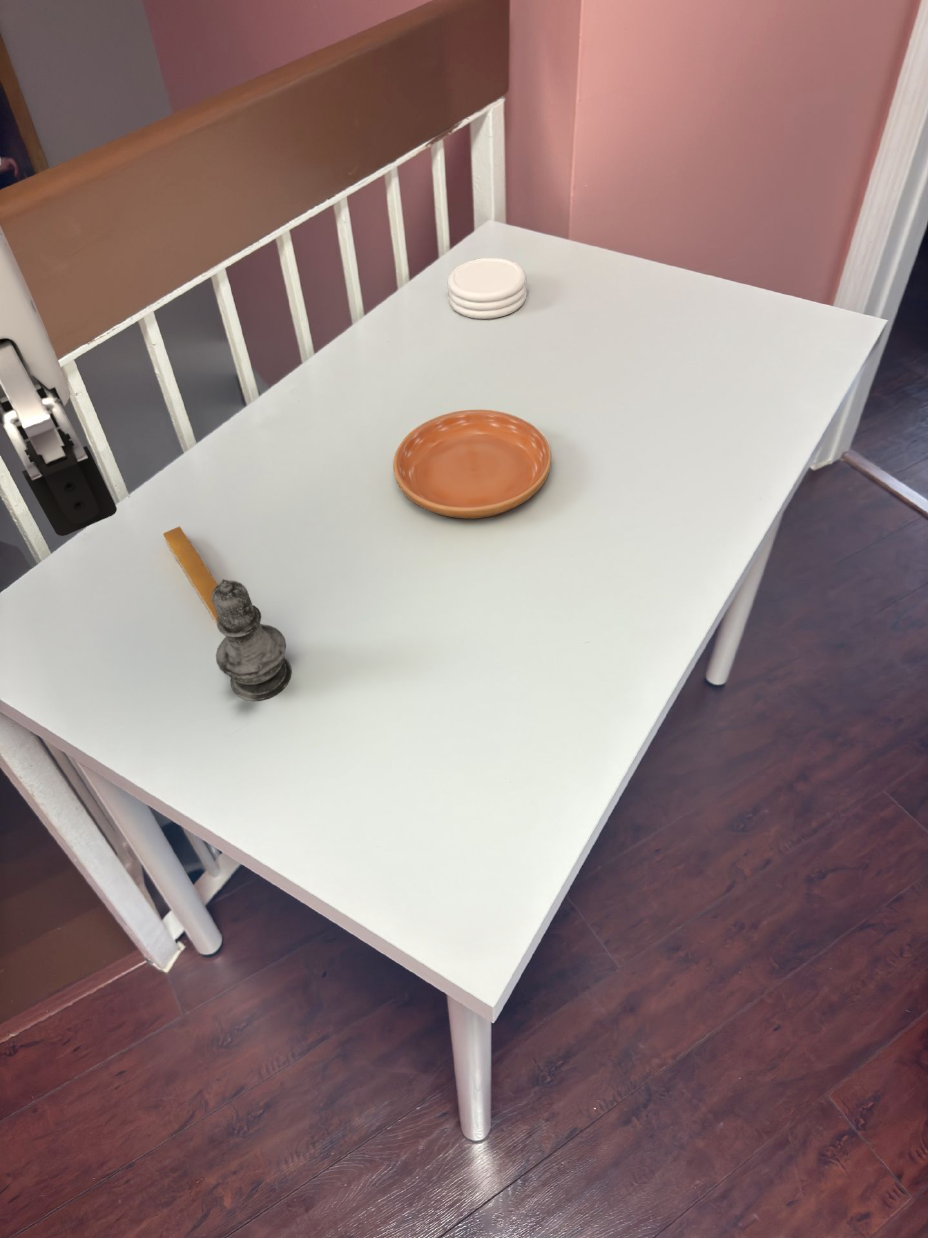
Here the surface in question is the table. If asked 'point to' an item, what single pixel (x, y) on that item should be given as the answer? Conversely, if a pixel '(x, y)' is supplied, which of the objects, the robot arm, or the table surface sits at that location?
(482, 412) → the saucer
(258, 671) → the salt shaker
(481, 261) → the coaster
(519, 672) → the table surface
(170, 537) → the golden stick
